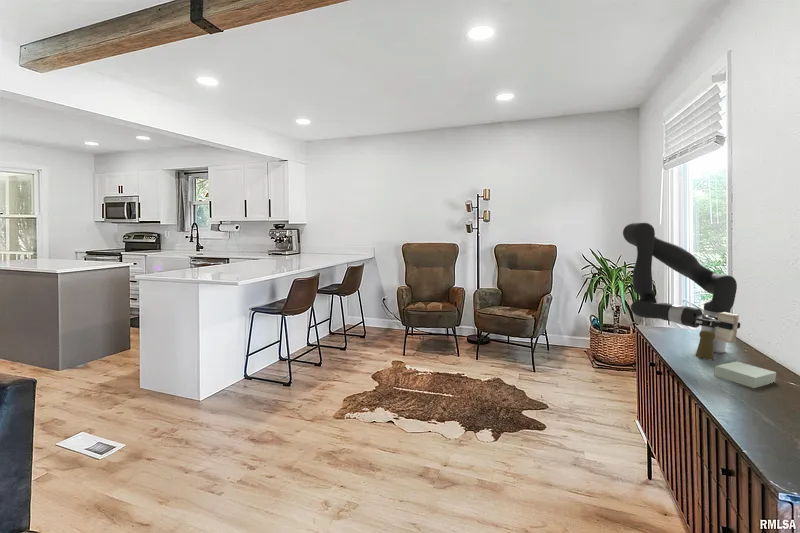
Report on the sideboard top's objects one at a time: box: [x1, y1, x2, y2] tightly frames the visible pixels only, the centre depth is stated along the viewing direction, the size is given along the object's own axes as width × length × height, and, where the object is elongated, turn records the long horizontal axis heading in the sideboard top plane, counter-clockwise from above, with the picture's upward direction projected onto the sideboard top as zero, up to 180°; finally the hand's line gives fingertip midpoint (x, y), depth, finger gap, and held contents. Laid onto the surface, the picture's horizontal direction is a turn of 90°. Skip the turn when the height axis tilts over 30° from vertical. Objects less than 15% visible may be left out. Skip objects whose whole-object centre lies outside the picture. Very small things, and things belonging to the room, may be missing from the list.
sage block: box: [713, 360, 777, 389], centre depth 148 cm, size 14×12×4 cm
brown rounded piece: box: [695, 330, 715, 361], centre depth 171 cm, size 6×6×11 cm
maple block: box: [715, 312, 740, 344], centre depth 152 cm, size 4×4×10 cm
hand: (736, 326), depth 150 cm, fingers closed on maple block, 4 cm apart
